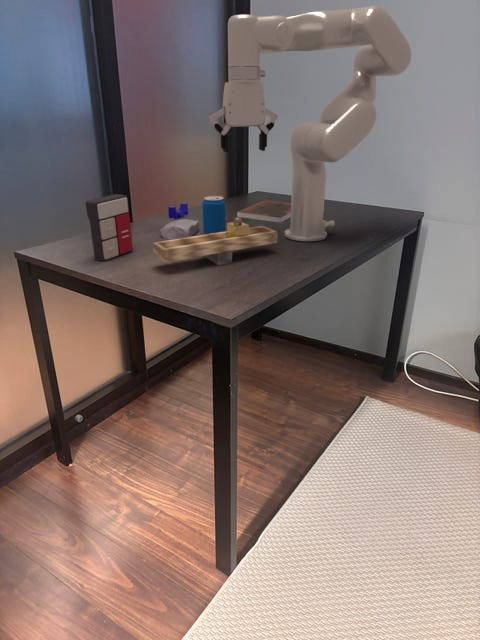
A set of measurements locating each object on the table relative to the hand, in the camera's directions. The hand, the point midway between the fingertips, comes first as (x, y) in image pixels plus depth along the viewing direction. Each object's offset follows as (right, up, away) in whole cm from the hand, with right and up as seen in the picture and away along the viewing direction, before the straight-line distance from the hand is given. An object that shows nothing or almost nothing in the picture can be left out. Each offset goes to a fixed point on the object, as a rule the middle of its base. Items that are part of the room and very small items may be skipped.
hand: (244, 150), depth 122 cm
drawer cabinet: (-34, -26, +5) cm, 43 cm away
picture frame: (+10, -6, +49) cm, 50 cm away
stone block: (-20, -17, +24) cm, 35 cm away
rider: (-2, -22, +2) cm, 22 cm away
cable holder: (-22, -8, +43) cm, 49 cm away
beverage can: (-9, -20, +18) cm, 28 cm away
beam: (-7, -28, +2) cm, 28 cm away
